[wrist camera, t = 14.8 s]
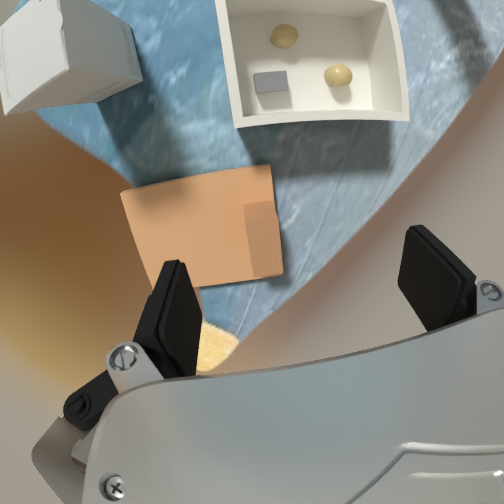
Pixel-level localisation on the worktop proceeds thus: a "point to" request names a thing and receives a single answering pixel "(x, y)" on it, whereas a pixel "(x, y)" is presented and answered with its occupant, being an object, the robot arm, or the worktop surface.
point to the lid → (208, 225)
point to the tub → (312, 60)
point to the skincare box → (64, 55)
